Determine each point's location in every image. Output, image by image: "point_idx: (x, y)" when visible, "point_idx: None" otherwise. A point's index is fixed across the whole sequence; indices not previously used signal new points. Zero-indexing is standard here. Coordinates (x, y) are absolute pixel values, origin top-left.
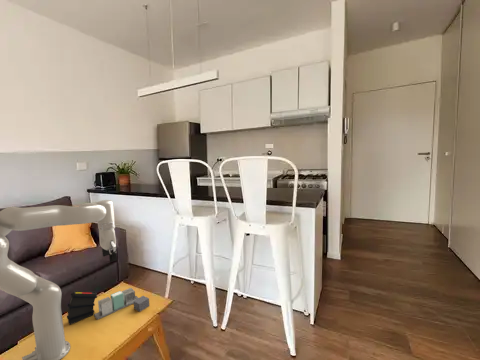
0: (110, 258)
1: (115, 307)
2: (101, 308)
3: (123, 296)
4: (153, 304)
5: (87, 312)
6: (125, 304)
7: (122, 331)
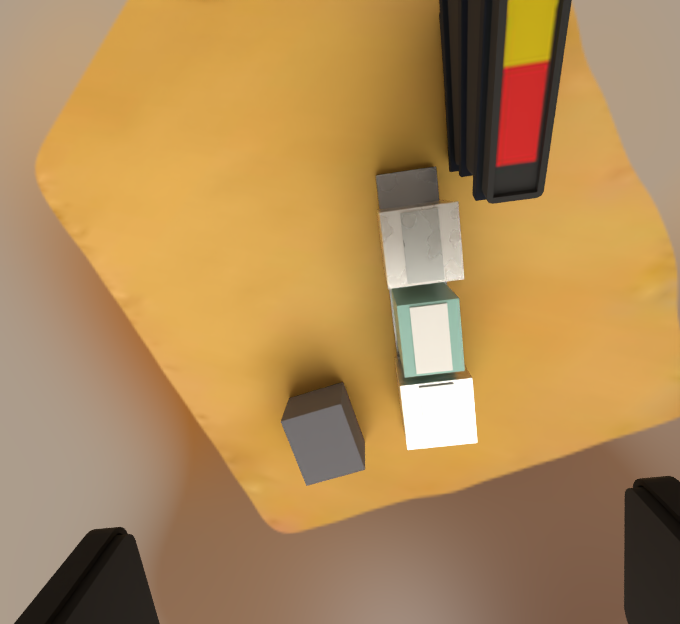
0: (33, 620)
1: (392, 295)
2: (383, 210)
3: None
4: None
5: (453, 125)
6: None
7: (170, 276)
